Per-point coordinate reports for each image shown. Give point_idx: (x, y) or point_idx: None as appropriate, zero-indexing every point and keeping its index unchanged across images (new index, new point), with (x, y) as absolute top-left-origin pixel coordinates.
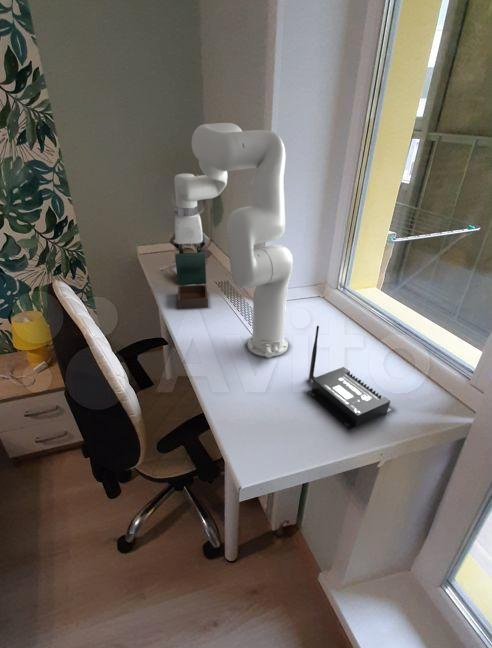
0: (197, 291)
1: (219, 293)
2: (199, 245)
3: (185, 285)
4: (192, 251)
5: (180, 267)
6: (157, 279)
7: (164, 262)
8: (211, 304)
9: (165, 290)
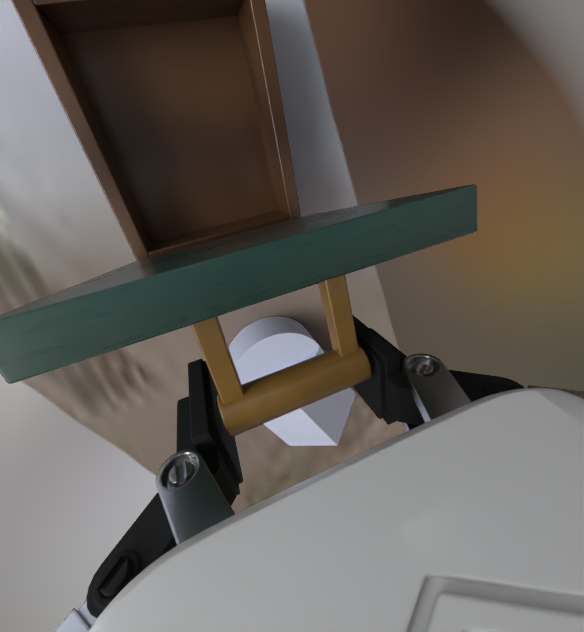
0: (192, 233)
1: (67, 264)
2: (181, 516)
3: (279, 316)
4: (271, 399)
5: (332, 213)
6: (389, 342)
7: None
8: (40, 86)
9: None
